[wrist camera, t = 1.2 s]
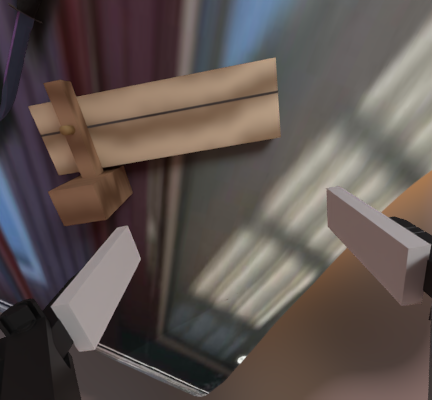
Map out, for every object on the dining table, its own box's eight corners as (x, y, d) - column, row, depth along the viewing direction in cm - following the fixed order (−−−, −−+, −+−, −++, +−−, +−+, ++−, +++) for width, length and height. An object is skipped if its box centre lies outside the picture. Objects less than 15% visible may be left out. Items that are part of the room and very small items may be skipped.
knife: (51, -71, 27) (18, -110, 23) (71, -58, 28) (42, -94, 23) (9, 118, 34) (-23, 118, 30) (25, 126, 35) (-4, 127, 30)
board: (43, 106, 34) (27, 106, 32) (270, 61, 32) (275, 57, 29) (70, 170, 38) (58, 175, 35) (275, 134, 36) (280, 137, 33)
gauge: (56, 89, 34) (-5, 82, 24) (95, 81, 33) (48, 71, 24) (99, 198, 40) (64, 226, 31) (132, 193, 40) (106, 219, 30)
